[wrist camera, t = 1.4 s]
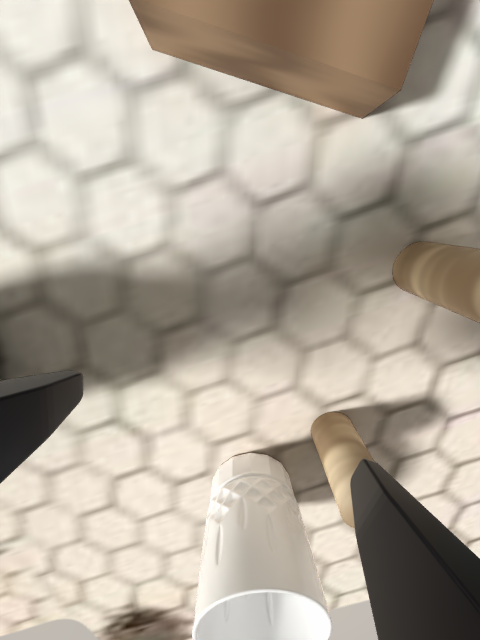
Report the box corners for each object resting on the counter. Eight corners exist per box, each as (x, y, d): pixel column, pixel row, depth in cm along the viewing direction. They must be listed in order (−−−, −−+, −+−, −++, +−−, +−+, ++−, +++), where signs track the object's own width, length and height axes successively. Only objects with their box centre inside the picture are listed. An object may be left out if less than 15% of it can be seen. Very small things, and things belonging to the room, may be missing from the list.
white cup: (202, 448, 24) (185, 595, 15) (296, 443, 25) (337, 586, 15) (209, 515, 27) (198, 676, 18) (294, 511, 27) (327, 667, 18)
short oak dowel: (305, 441, 24) (332, 524, 18) (319, 408, 23) (353, 484, 17) (342, 448, 25) (383, 532, 18) (358, 416, 24) (407, 493, 17)
